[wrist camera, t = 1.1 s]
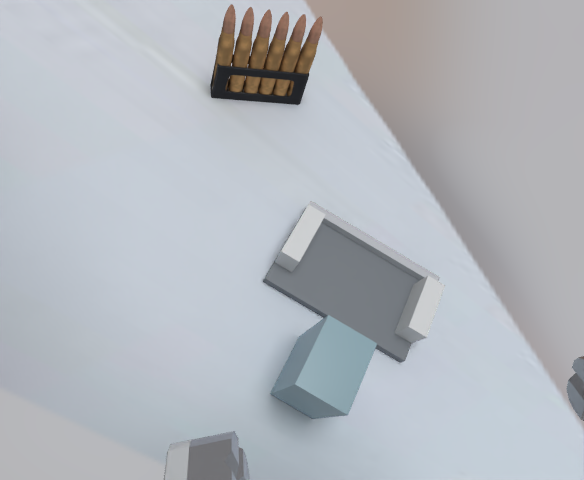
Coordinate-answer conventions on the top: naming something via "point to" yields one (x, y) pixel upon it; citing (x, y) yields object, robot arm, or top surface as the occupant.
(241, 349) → the top surface
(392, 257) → the mounting board
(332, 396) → the block
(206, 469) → the robot arm
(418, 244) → the top surface
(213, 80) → the ammunition clip
